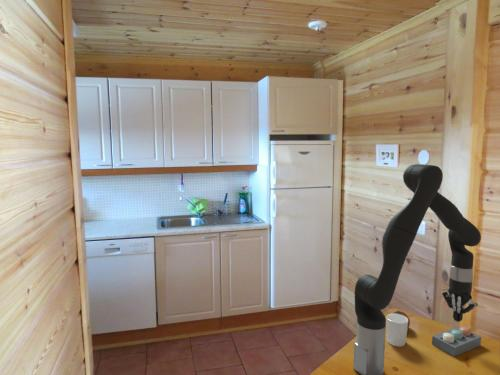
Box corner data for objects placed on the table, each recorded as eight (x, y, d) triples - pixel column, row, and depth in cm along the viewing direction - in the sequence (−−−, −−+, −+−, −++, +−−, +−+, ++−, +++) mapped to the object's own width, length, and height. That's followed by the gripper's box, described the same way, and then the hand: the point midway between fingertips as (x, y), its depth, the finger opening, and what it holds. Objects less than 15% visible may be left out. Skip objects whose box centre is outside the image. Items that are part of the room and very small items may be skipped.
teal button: (457, 345, 134) (458, 335, 134) (448, 340, 138) (449, 331, 137) (464, 343, 136) (465, 333, 135) (454, 338, 139) (455, 328, 139)
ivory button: (449, 349, 132) (450, 339, 131) (440, 344, 135) (440, 334, 135) (455, 346, 134) (456, 336, 133) (446, 341, 137) (447, 331, 137)
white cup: (409, 348, 135) (410, 324, 133) (387, 346, 136) (388, 322, 135) (404, 337, 142) (405, 314, 141) (383, 335, 144) (384, 312, 143)
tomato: (386, 328, 149) (387, 312, 148) (393, 321, 155) (393, 305, 154) (406, 334, 144) (407, 318, 143) (412, 326, 150) (413, 310, 149)
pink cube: (466, 342, 136) (466, 332, 136) (456, 337, 140) (457, 327, 139) (472, 339, 138) (473, 330, 138) (462, 335, 141) (463, 325, 141)
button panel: (454, 356, 129) (454, 347, 129) (431, 344, 137) (432, 335, 137) (480, 345, 136) (481, 336, 136) (458, 334, 144) (458, 326, 144)
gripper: (438, 273, 138) (435, 315, 140) (472, 285, 126) (468, 331, 128) (450, 270, 141) (447, 311, 143) (485, 281, 129) (481, 326, 131)
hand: (457, 320), depth 136 cm, fingers closed
